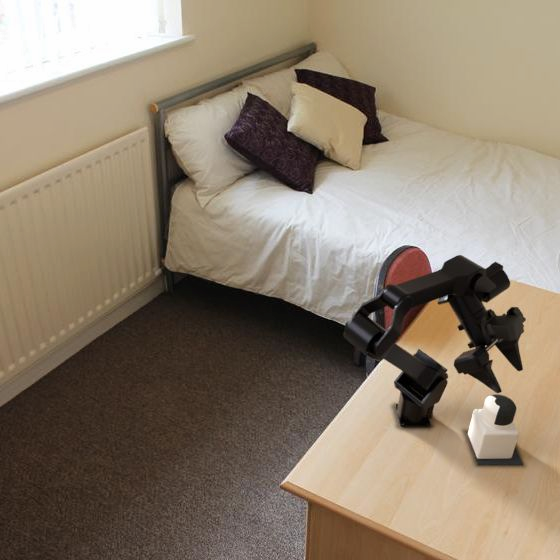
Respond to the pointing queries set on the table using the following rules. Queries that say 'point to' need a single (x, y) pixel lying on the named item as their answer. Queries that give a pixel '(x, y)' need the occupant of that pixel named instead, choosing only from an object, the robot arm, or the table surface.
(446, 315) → the table surface
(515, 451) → the felt pad
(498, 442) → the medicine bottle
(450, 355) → the table surface
